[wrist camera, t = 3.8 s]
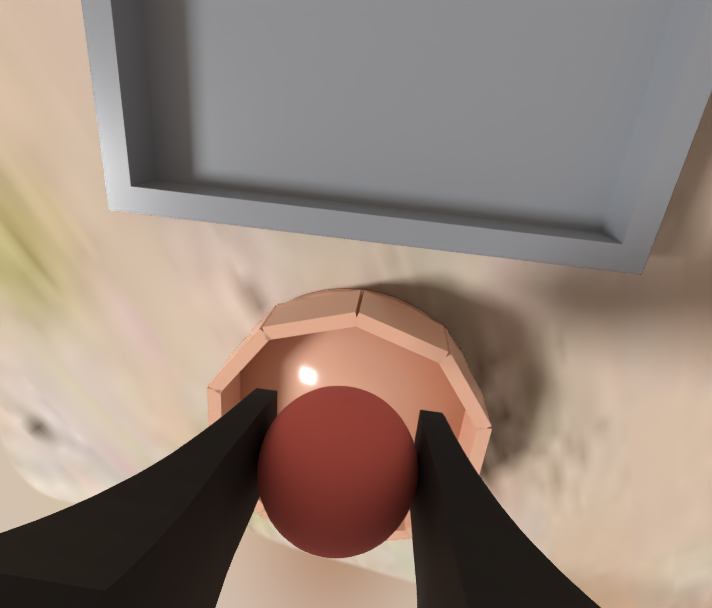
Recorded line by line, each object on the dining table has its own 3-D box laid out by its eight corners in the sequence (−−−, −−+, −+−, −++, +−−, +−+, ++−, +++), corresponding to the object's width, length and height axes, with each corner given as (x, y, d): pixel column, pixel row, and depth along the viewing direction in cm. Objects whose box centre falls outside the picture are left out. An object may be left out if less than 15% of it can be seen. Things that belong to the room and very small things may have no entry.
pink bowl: (500, 301, 19) (518, 333, 16) (448, 509, 24) (454, 563, 21) (232, 266, 20) (202, 291, 17) (236, 476, 25) (213, 524, 22)
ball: (425, 367, 12) (436, 477, 8) (406, 477, 13) (407, 612, 10) (282, 348, 12) (229, 447, 8) (280, 459, 14) (234, 583, 10)
